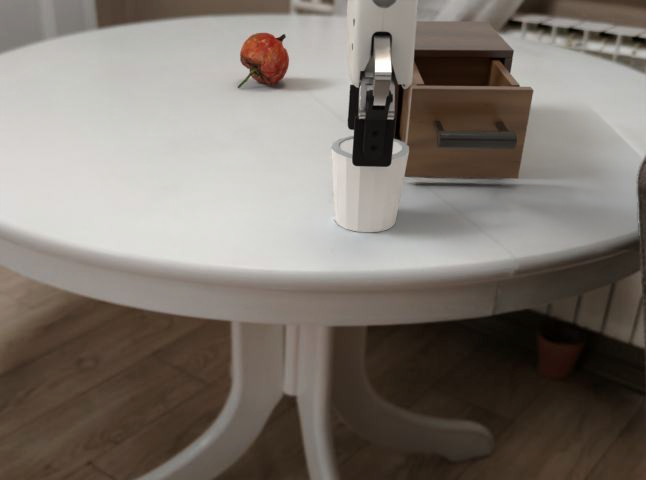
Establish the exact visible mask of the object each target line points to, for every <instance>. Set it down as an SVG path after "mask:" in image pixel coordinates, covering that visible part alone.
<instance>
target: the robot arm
mask: <svg viewBox="0 0 646 480" xmlns="http://www.w3.org/2000/svg"><path fill="white" fill-rule="evenodd" d="M418 7H419V0H347V6H346V52H347V53H346V54H347V65H348V72H349V73H348V74H349V78H350V83H351V84H349V95H348V98H349V99H348V111H347V112H348V113H347V128H348V129H349V130H351V131H353V136H354V138H353V152H352V163H353V165H354V166H367V167H388V166H390V165H391V161H392V151H393V140H394V130H395V119H396V118H395V117H394V110H395V77H396V80H397V83H398V84H401V85H402V88H403V89H407V88H408V87H410V85H411V84H412V79H413V64H414V49H415V36H416V23H417V21H418V10H419V9H418Z"/></svg>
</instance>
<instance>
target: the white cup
mask: <svg viewBox="0 0 646 480" xmlns="http://www.w3.org/2000/svg"><path fill="white" fill-rule="evenodd" d="M353 138H354V135H349V136H346V137H341V138H339V139H337V140H335V141H333V142H332V143H331V171H332V189H333V191H332V192H333V212H334V221H335V223H336V224H337V225H338V226H339V227H341V228H343V229H346V230H348V231H352V232H353V231H354V232H358V233H376V232H378V233H379V232H383V231H387V230H389V229H391V228H392V227H394V226H395V225H396V221H397V217H398V216H397V215H398V210H399V205H400V200H401V196H402V190H403V185H404V181H405V177H404V175H405V170H406V165H407V160H408V154H409V146H408V145H406V144H405V143H404V142H402V141H399V140H397V139H394V140H393V151H392V161H391V165H390V166H388V167H367V166H354V165H353V163H352V152H353Z"/></svg>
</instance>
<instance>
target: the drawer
mask: <svg viewBox="0 0 646 480" xmlns="http://www.w3.org/2000/svg"><path fill="white" fill-rule="evenodd" d="M533 94H534V89H533V88H532V87H531V86H521V85H520V83H519V82H518V81H517V80H516V79H515V77H514V76H513V75H512V74H511V73H509V71H508V70H507V69H506V68H505V67H504V65H503V64H502V63H501V62H500V60H499V59H498V58H475V57H414V64H413V79H412V84H411V85H410V87H408V88H407V89H403V88H402V91H401V103H400V114H399V125H398V131H399V134H400V138H401V141H402V142H404V143H405V144H406V145H408V146H409V154H408V160H407V165H406V170H405V175H404V178H451V179H452V178H454V179H457V178H459V179H515V180H516V179H519V176H520V169H521V164H522V159H523V158H522V157H523V153H524V146H525V142H526V141H525V140H526V135H527V129H528V125H529V118H530V112H531V108H532V107H531V106H532V101H533Z"/></svg>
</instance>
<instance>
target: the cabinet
mask: <svg viewBox="0 0 646 480" xmlns="http://www.w3.org/2000/svg"><path fill="white" fill-rule="evenodd" d="M514 51H515V50H514V49H513V47H511V46H510V44H509V43H508V42H507V41H506V40H505V39H504V38H503V37H502V36H501V35H500V34H499V33H498V32H497V31H496V29H495V28H494V27H493V26H492V25H491V24H490V23H489V22H488V21H450V20H448V21H447V20H446V21H445V20H444V21H443V20H441V21H439V20H438V21H437V20H417V23H416V36H415V49H414V57H475V58H498V59H499V60H500V62H501V63H502V64H503V65H504V67H505V68H506V69H507V70H508V71H509V73H510V74H511V72H512V65H513V59H514ZM401 91H402V85H401V84H398V83H397V80H396V77H395V110H394V117H395V118H396V119H395V130H394V139H397V140H399V141H401V138H400V134H399V131H398V125H399V114H400V103H401Z"/></svg>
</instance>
